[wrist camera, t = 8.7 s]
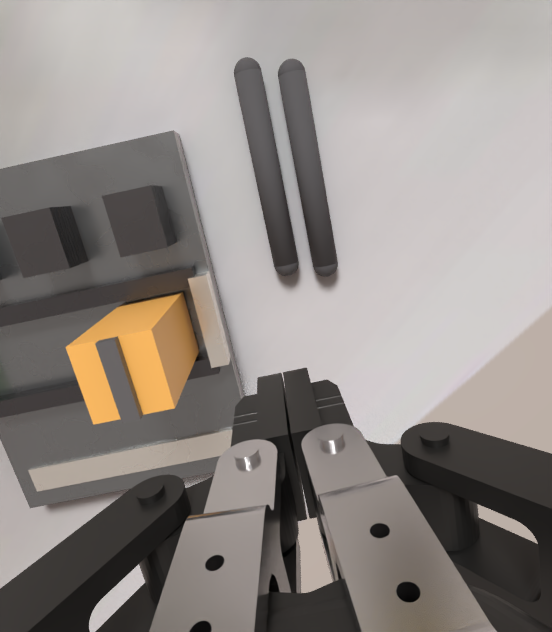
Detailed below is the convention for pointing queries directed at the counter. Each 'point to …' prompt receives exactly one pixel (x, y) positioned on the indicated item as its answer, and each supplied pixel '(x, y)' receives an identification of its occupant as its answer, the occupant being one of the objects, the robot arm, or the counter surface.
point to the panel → (93, 305)
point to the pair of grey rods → (304, 160)
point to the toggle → (135, 359)
